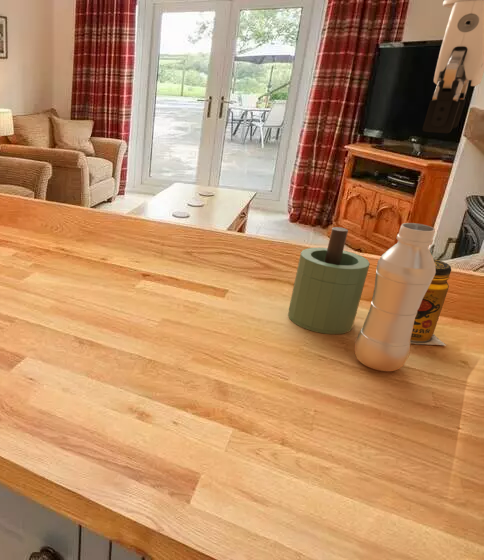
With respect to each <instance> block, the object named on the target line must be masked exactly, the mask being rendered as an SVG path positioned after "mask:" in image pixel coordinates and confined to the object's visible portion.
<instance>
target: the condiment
mask: <svg viewBox="0 0 484 560" xmlns="http://www.w3.org/2000/svg"><path fill="white" fill-rule="evenodd" d="M433 260H434V262H435V268H436V273H435V275H434V278H433V280H432V282H431V284H430V286H429V288H428V289H427V291H426V293H425V295H424V297H423V299H422V302H421V304H420V307H419V309H418V310H417V315H416V317H415V320H414V325H413V330H412V334H411V339H410V340H411V342H410V345H413V344H415V345H428V346H433V345H434V346H435V345H437V346H447V344H446V343H444V342H443V341H442V340H441V339H440V338H439V337H437V336H436V335H435V331H436V327H437V325H438V322H439V318H440V316H441V313H442V309H443V306H444V303H445V300H446V297H447V295H448V291H449V288H450V285H449V283H448V281H449V280H450V275H451V273H452V267H451V265H450V264H449V263H447V262H445V261H442V260H439V259H434V258H433Z"/></svg>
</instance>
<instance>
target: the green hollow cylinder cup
mask: <svg viewBox="0 0 484 560" xmlns="http://www.w3.org/2000/svg"><path fill="white" fill-rule="evenodd" d="M327 248H328V247H318V246H317V247H309V248H308V247H307V248H305V249H303V250H302V251H300V255H299V259H298V263H297V269H296V273H295V278H294V282H293V288H292V291H291V297H290V302H289V307H288V313H287V316H288V318H289V319H290V321H291V322H293V323H294V324H295V325H296V326H299V327H301V328H303V329H306V330H308V331H311V332H314V333H319V334H324V335H325V334H326V335H342V334H346V333H348V332H350V331H352V330H353V326H354V323H355V321H356V318H357V317H356V316H357V312H358V310H359V306H360V301H361V298H362V295H363V290H364V288H365V283H366V279H367V275H368V272H369V269H370V265H371V264H370V262H369V260H368V259H367V258H365V257H364V256H362V255H360V254H357V253H355V252H351V251H348V250H343V254H342V258H341V262H340V265H335V264H329V263H325V262H324V261H325V257H326V253H327Z"/></svg>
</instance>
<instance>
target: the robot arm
mask: <svg viewBox="0 0 484 560" xmlns="http://www.w3.org/2000/svg"><path fill="white" fill-rule="evenodd" d="M442 7H443V8H450V9H451V10H450V14H449V17H448V21H447V23H446V28H445V31H444V35H443V38H442V42H441V46H440V50H439V54H438V58H437V62H436V66H435V71H434V76H433V83H434V84H435V85H436V87H435V90H434V92H433V95H432V100H430V101H429V105H428V107H427V111H426V115H425V118H424V122H423V126H422V131H423V132H424V133H425V132H426V133H435V134H436V133H438V134H449V133H451V132H452V129H456V128H457V127H458V125H459V122H460V119H461V116H462V113H463V109H464V107H465V104H466V99H465V97H466V95H467V91H468V87H469V83H470V87H477V86H478V85H480V84H481V83H482V79H483V77H484V0H443V2H442Z"/></svg>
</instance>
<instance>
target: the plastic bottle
mask: <svg viewBox="0 0 484 560" xmlns="http://www.w3.org/2000/svg"><path fill="white" fill-rule="evenodd" d="M435 233H436V228H435V227H433V226H430V225H427V224H423V223H415V222H404V223H401V225H400V228H399V231H398V233H397V235H396V240H397V243H395V244H394V245H393V246H391V247H389V248H388V249H387V250H386V251H385V252H384V253H383V254H381V256H380V257H379V259H378V260H377V263H376V270H375V277H374V278H375V279H374V289H373V293H372V298H371V299H372V300H371V302H370V307H369V309H368V313H367V316H366V317H365V320H364V323H363V325H362V327H361V329H360V331H359V332H358V334H357V336H356V338H355V341H354V350H353V351H354V354H355V356H356V359H357V360H358V362H359V363H361V364H362V365H364V366H366V367H368V368H370V369H373V370H376V371H379V372H380V371H381V372H395V371H397V370H399V369H401V368H402V367H404V365H405V364H406V362H407V361H408V359H409V357H410V351H411V343H410V342H411V340H410V339H411V334H412V330H413V325H414V320H415V317H416V315H417V310H418V309H419V307H420V304H421V302H422V299H423V297H424V295H425V293H426V291H427V289H428V288H429V286H430V284H431V282H432V280H433V278H434V275H435V273H436V268H435V262H434V260H433V259H434V257H433V254H432V253H431V251H430V249H429V246H432V244H433V242H434V236H435Z"/></svg>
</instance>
